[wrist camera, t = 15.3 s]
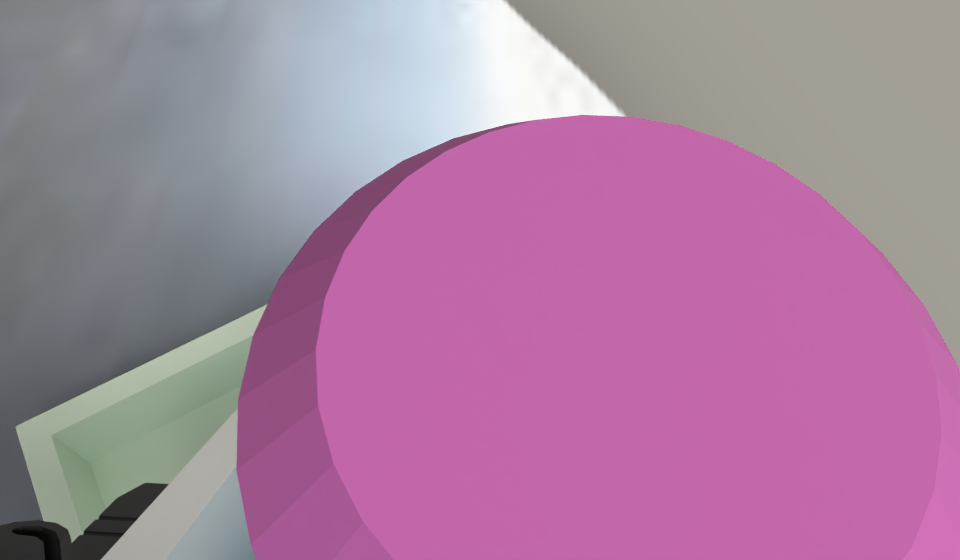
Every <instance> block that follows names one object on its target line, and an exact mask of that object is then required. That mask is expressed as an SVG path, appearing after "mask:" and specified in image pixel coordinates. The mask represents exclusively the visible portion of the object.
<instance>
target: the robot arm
mask: <svg viewBox="0 0 960 560" xmlns="http://www.w3.org/2000/svg"><path fill="white" fill-rule="evenodd" d="M237 422H238V408H237V410H236V411H235V412H234V413H233V414H232V415H231V416H230V417H229V418H228V419H227V421H226V422H225V423H224V424H223V425H222V426H221V427H220V428H219V429H218V431H217V432H216V433H215V434H214V435H213V436H212V437H211V438H210V439H209V441H208V442H207V443H206V444H205V445H204V446H203V447H202V448H201V449H200V450H199V452H198V453H197V454H196V455H195V456H194V457H193V458H192V459H191V460H190V462H189V463H188V464H187V465H186V466H185V467H184V468H183V469H182V470H181V472H180V473H179V474H178V475H177V476H176V477H175V478H174V479H173V480H172V481H171V483H170V484H160V483H144V484H142V485H140V486H138V487H136V488H134V489H132V490H131V491H129V492H127V493H125V494H123V495H121V496H119V497H118V498H116V499H115V500H114V501H113V502H112V503H111V504H110V505H109V506H108V507H107V508H106V509H105V510H104V511H103V512H102V513H101V514H100V515H99V519H98V520H97V519H95V520H94V521H93V522H92V523H91V524H90V525H89V526H88V527H87V528H86V529H85V530H84V533H83V535H79V536H78V537H77V538H76V539H75V540H74V541H73V542H72V543H71V537H70V534H69V531H68V529H66V528H65V527H63V526H61V525H59V524H57V523H54V522H46V521H38V520H37V521H25V522H14V523H10V524H6V525H2V526H0V560H257V559H256V556H255V554H254V551H253V549H252V547H251V544H250V538H249V533H248V528H247V523H246V518H245V512H244V507H243V502H242V497H241V492H240V486H239V481H238V476H237V471H236V468H237Z"/></svg>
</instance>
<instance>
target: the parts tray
mask: <svg viewBox="0 0 960 560" xmlns="http://www.w3.org/2000/svg"><path fill="white" fill-rule="evenodd" d="M266 306H267V305H265V306H263V307H261V308H259V309H257V310H255V311H252V312H250V313H248V314H246V315H244V316H242V317H240V318H238V319H236V320H234V321H232V322H230V323H228V324H226V325H224V326H221V327H219V328H217V329H215V330H213V331H211V332H209V333H207V334H205V335H203V336H201V337H199V338H197V339H195V340H193V341H191V342H188V343H186V344H184V345H182V346H180V347H178V348H176V349H174V350H172V351H170V352H168V353H166V354H164V355H162V356H160V357H157V358H155V359H153V360H151V361H149V362H147V363H145V364H143V365H141V366H139V367H137V368H135V369H133V370H131V371H129V372H127V373H124V374H122V375H120V376H118V377H116V378H114V379H112V380H110V381H108V382H106V383H104V384H102V385H100V386H98V387H96V388H94V389H91V390H89V391H87V392H85V393H83V394H81V395H79V396H77V397H75V398H73V399H71V400H69V401H67V402H65V403H63V404H60V405H58V406H56V407H54V408H52V409H50V410H48V411H46V412H44V413H42V414H40V415H38V416H36V417H34V418H32V419H30V420H27V421H25V422H23V423H21V424H19V425H17V426H15V427H16V431H17V434H18V437H19V441H20V444H21V448H22V451H23V454H24V458H25V461H26V464H27V468H28V471H29V474H30V478H31V481H32V484H33V488H34V491H35V494H36V498H37V501H38V504H39V508H40V511H41V514H42V518H43V521H46V522H54V523H57V524H59V525H61V526H63V527H65V528H66V529H68V531H69V534H70V537H71V543H72V542H73V541H74V540H75V539H76V538H77V537H78V536H79V535H83V533H84V530H85V529H86V528H87V527H88V526H89V525H90V524H91V523H92V522H93V521H94V520H95V519H97V520H98V519H99V515H100V514H101V513H102V512H103V511H104V510H105V509H106V508H107V507H108V506H109V505H110V504H111V503H112V502H113V501H114V500H115V499H116V498H118V497H119V496H121V495H123V494H125V493H127V492H129V491H131V490H132V489H134V488H136V487H138V486H140V485H142V484H144V483H160V484H170V483H171V481H172V480H173V479H174V478H175V477H176V476H177V475H178V474H179V473H180V472H181V470H182V469H183V468H184V467H185V466H186V465H187V464H188V463H189V462H190V460H191V459H192V458H193V457H194V456H195V455H196V454H197V453H198V452H199V450H200V449H201V448H202V447H203V446H204V445H205V444H206V443H207V442H208V441H209V439H210V438H211V437H212V436H213V435H214V434H215V433H216V432H217V431H218V429H219V428H220V427H221V426H222V425H223V424H224V423H225V422H226V421H227V419H228V418H229V417H230V416H231V415H232V414H233V413H234V412H235V411H236V410H237V408H238V398H239V393H240V389H241V385H242V381H243V376H244V372H245V368H246V363H247V359H248V355H249V351H250V346H251V342H252V338H253V335H254V332H255V330H256V328H257V326H258V324H259V322H260V319H261V317H262V315H263V313H264V311H265V309H266Z"/></svg>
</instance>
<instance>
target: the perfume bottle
mask: <svg viewBox="0 0 960 560" xmlns="http://www.w3.org/2000/svg"><path fill="white" fill-rule="evenodd" d="M236 471H237V476H238V481H239V486H240V492H241V497H242V502H243V507H244V512H245V518H246V523H247V528H248V533H249V538H250V544H251V547H252V549H253V551H254V554H255V556H256V559H257V560H960V371H959V368H958V365H957V364H956V362H955V360H954V358H953V356H952V355H951V353H950V351H949V349H948V348H947V346H946V344H945V342H944V340H943V338H942V337H941V335H940V333H939V331H938V329H937V328H936V326H935V324H934V322H933V320H932V318H931V317H930V315H929V313H928V311H927V309H926V308H925V306H924V305H923V303H922V302H921V301H920V300H919V298H918V297H917V296H916V295H915V293H914V292H913V291H912V289H911V288H910V287H909V286H908V284H907V283H906V282H905V281H904V279H903V278H902V277H901V276H900V274H899V273H898V272H897V271H896V269H895V268H894V267H893V266H892V264H891V263H890V262H889V261H888V259H887V258H886V257H885V256H884V254H883V253H882V252H881V251H879V250H878V249H877V248H876V247H875V246H874V245H873V244H872V243H871V242H870V241H869V240H868V239H867V238H866V237H865V236H864V235H863V234H862V233H861V232H860V231H859V230H858V229H856V228H855V227H854V226H853V225H852V224H851V223H850V222H849V221H848V220H847V219H846V218H845V217H843V216H842V215H841V214H840V213H839V212H838V211H837V210H836V209H835V208H834V207H833V206H831V205H830V204H829V203H828V202H827V201H826V200H825V199H824V198H823V197H822V196H821V195H820V194H818V193H817V192H815V191H814V190H812V189H811V188H809V187H808V186H806V185H805V184H803V183H802V182H801V181H799V180H798V179H796V178H794V177H793V176H792V175H790V174H789V173H787V172H786V171H784V170H783V169H781V168H780V167H778V166H777V165H775V164H774V163H772V162H769V161H767V160H765V159H763V158H761V157H759V156H757V155H755V154H753V153H751V152H749V151H747V150H745V149H743V148H741V147H738V146H737V145H734V144H733V143H731V142H728V141H725V140H722V139H719V138H716V137H713V136H710V135H706V134H704V133H701V132H698V131H695V130H692V129H689V128H686V127H683V126H679V125H673V124H667V123H662V122H656V121H651V120H645V119H640V118H633V117H619V116H593V115H579V116H569V117H560V118H551V119H541V120H533V121H526V122H520V123H514V124H507V125H503V126H500V127H496V128H492V129H488V130H484V131H480V132H477V133H473V134H469V135H465V136H461V137H458V138H454V139H451V140H449V141H447V142H445V143H442V144H440V145H438V146H435V147H433V148H431V149H429V150H426V151H424V152H422V153H420V154H417V155H415V156H413V157H410V158H408V159H406V160H404V161H402V162H400V163H399V164H397V165H396V166H394V167H393V168H391V169H390V170H388V171H387V172H385V173H384V174H382V175H380V176H379V177H377V178H376V179H374V180H373V181H371V182H370V183H368V184H367V185H365V186H364V187H362V188H361V189H359V190H358V191H356V192H355V193H354V194H353V195H352V196H351V197H350V198H349V199H348V200H346V201H345V202H344V203H343V204H342V205H341V206H340V207H339V208H338V209H337V210H336V211H335V212H334V213H333V214H332V215H331V216H329V217H328V218H327V219H326V220H325V221H324V222H323V223H322V224H321V225H320V226H319V227H318V228H317V229H316V230H315V231H314V232H313V233H312V235H311V236H310V237H309V239H308V240H307V241H306V243H305V244H304V246H303V247H302V248H301V250H300V251H299V252H298V254H297V255H296V257H295V258H294V259H293V261H292V262H291V263H290V265H289V266H288V268H287V269H286V270H285V272H284V273H283V274H282V276H281V277H280V279H279V281H278V283H277V285H276V287H275V289H274V291H273V293H272V296H271V298H270V300H269V302H268V304H267V306H266V309H265V311H264V313H263V315H262V317H261V319H260V322H259V324H258V326H257V328H256V330H255V332H254V335H253V338H252V342H251V346H250V351H249V355H248V359H247V363H246V368H245V372H244V376H243V381H242V385H241V389H240V393H239V398H238V422H237V468H236Z"/></svg>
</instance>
